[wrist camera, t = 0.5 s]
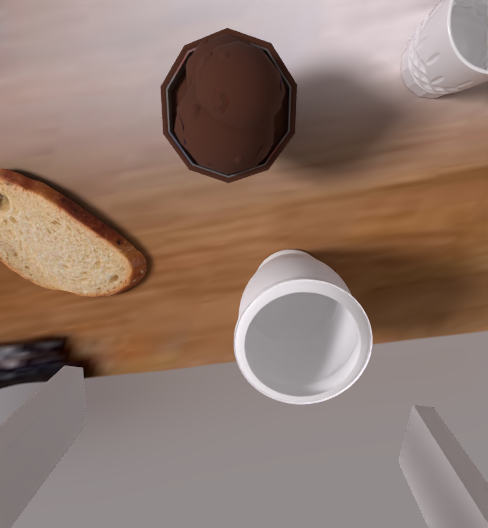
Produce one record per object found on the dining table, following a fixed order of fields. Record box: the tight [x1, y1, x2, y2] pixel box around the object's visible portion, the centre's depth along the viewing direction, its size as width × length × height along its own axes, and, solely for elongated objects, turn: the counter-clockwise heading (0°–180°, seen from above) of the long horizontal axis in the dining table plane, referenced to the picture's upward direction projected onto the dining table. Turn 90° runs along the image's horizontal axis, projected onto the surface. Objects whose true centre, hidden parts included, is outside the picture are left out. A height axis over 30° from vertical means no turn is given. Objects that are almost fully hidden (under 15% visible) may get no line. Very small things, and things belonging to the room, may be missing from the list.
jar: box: [234, 249, 372, 404], centre depth 31 cm, size 11×10×15 cm
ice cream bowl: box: [161, 28, 297, 183], centre depth 27 cm, size 11×11×15 cm
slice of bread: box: [0, 169, 146, 297], centre depth 37 cm, size 18×18×4 cm
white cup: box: [401, 0, 488, 99], centre depth 27 cm, size 8×8×10 cm
